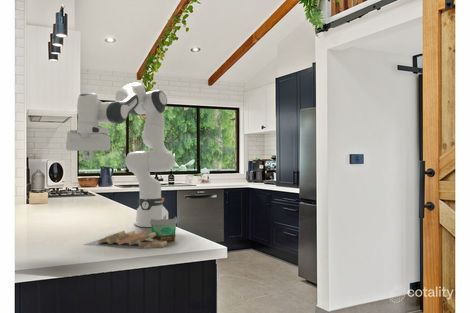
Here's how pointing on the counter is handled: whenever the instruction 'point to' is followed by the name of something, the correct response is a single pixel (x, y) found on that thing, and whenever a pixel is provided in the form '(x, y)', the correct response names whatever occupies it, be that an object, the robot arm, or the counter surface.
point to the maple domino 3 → (142, 238)
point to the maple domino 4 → (152, 243)
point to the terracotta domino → (131, 238)
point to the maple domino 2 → (121, 237)
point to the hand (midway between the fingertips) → (88, 161)
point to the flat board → (114, 244)
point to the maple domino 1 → (111, 237)
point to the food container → (164, 229)
